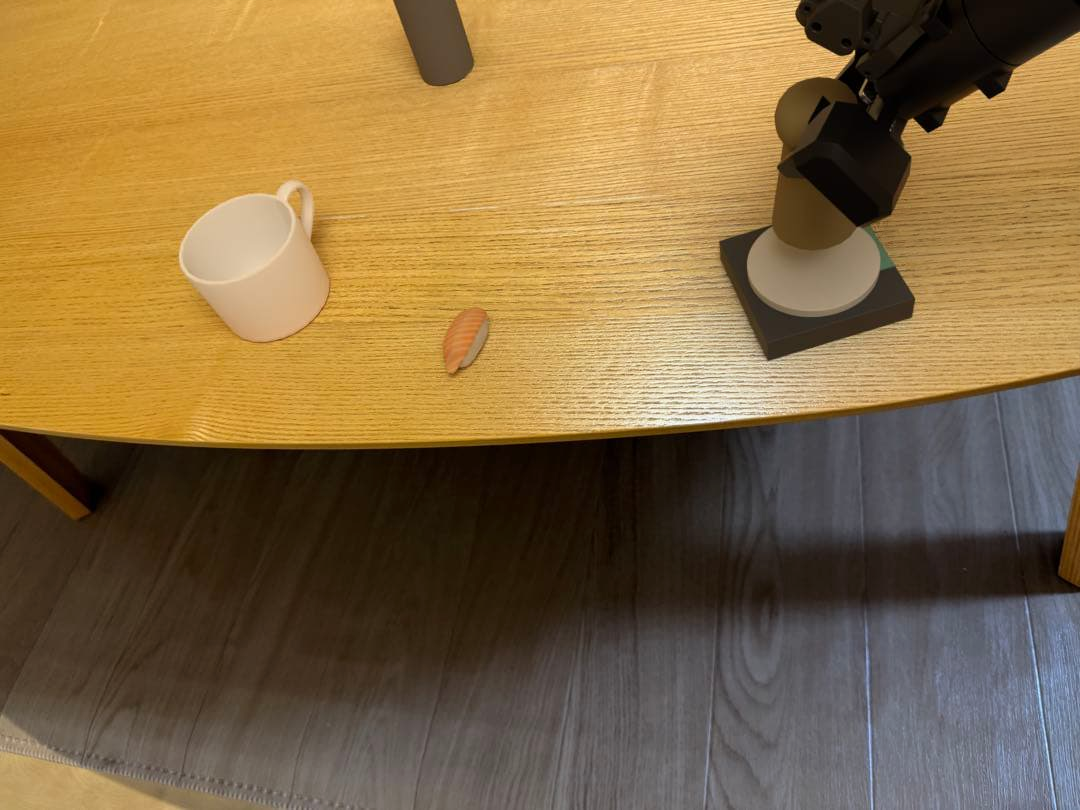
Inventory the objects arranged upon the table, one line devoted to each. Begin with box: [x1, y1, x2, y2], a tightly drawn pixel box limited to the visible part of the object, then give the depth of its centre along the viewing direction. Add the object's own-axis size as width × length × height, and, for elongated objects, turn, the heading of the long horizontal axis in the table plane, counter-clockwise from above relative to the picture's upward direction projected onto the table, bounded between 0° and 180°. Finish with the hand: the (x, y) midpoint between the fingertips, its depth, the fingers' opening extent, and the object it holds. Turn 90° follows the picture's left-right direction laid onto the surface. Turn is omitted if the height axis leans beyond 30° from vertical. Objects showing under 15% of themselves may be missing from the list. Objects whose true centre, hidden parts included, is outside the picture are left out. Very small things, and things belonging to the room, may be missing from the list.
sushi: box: [442, 306, 489, 374], centre depth 75 cm, size 3×6×3 cm, turn 159°
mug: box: [178, 179, 331, 343], centre depth 82 cm, size 13×10×8 cm
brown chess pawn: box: [771, 76, 858, 250], centre depth 63 cm, size 6×6×11 cm
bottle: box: [392, 0, 475, 86], centre depth 93 cm, size 6×6×15 cm
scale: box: [718, 224, 916, 362], centre depth 72 cm, size 11×11×3 cm
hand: (796, 144), depth 63 cm, fingers closed on brown chess pawn, 5 cm apart
